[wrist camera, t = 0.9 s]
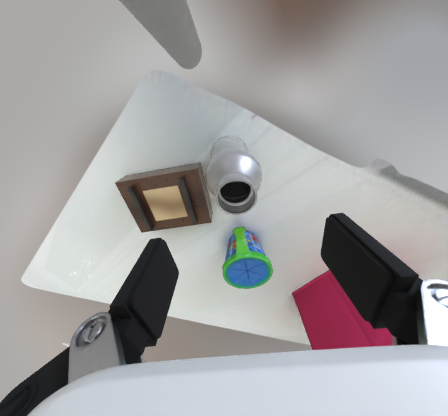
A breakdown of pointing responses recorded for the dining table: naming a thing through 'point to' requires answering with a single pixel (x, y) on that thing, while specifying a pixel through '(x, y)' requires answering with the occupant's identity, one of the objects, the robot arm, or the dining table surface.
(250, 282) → the snack cup
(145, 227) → the brown wooden base
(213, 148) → the silver metal bottle
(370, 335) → the storage bin
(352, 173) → the dining table surface
